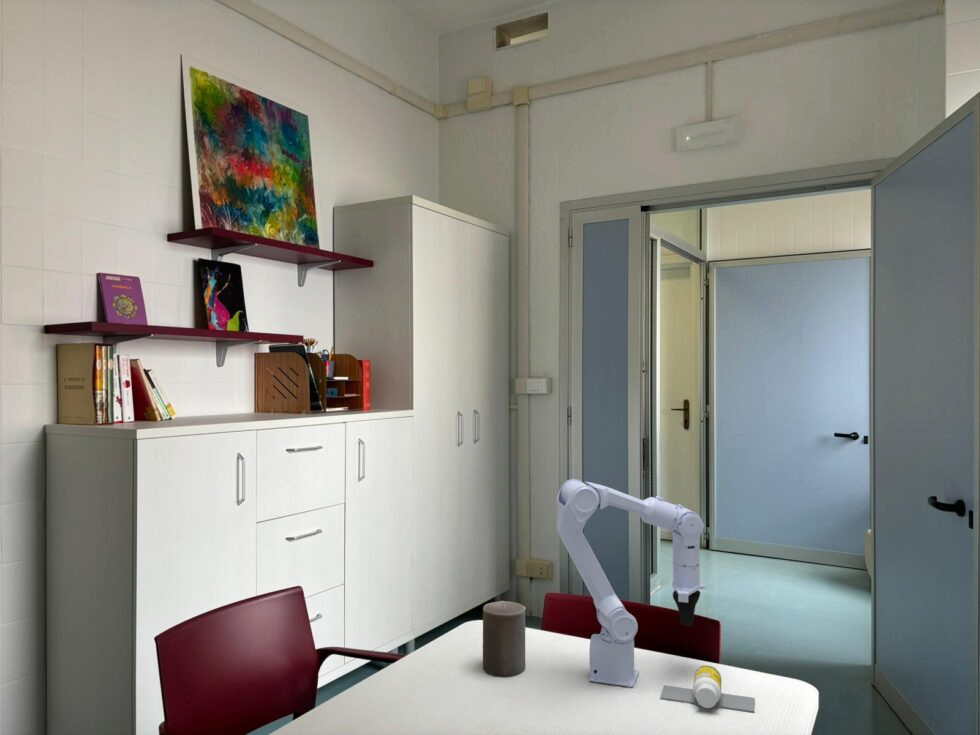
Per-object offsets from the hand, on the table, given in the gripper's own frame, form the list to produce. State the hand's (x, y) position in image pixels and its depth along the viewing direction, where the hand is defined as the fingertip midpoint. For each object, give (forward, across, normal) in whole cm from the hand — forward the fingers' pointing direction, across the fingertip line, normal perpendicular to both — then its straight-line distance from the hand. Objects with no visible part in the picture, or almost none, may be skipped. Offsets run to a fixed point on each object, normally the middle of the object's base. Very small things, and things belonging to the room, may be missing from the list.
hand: (687, 624), depth 159 cm
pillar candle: (+11, -11, +39) cm, 42 cm away
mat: (+10, -12, -5) cm, 17 cm away
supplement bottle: (+7, -8, -5) cm, 12 cm away
